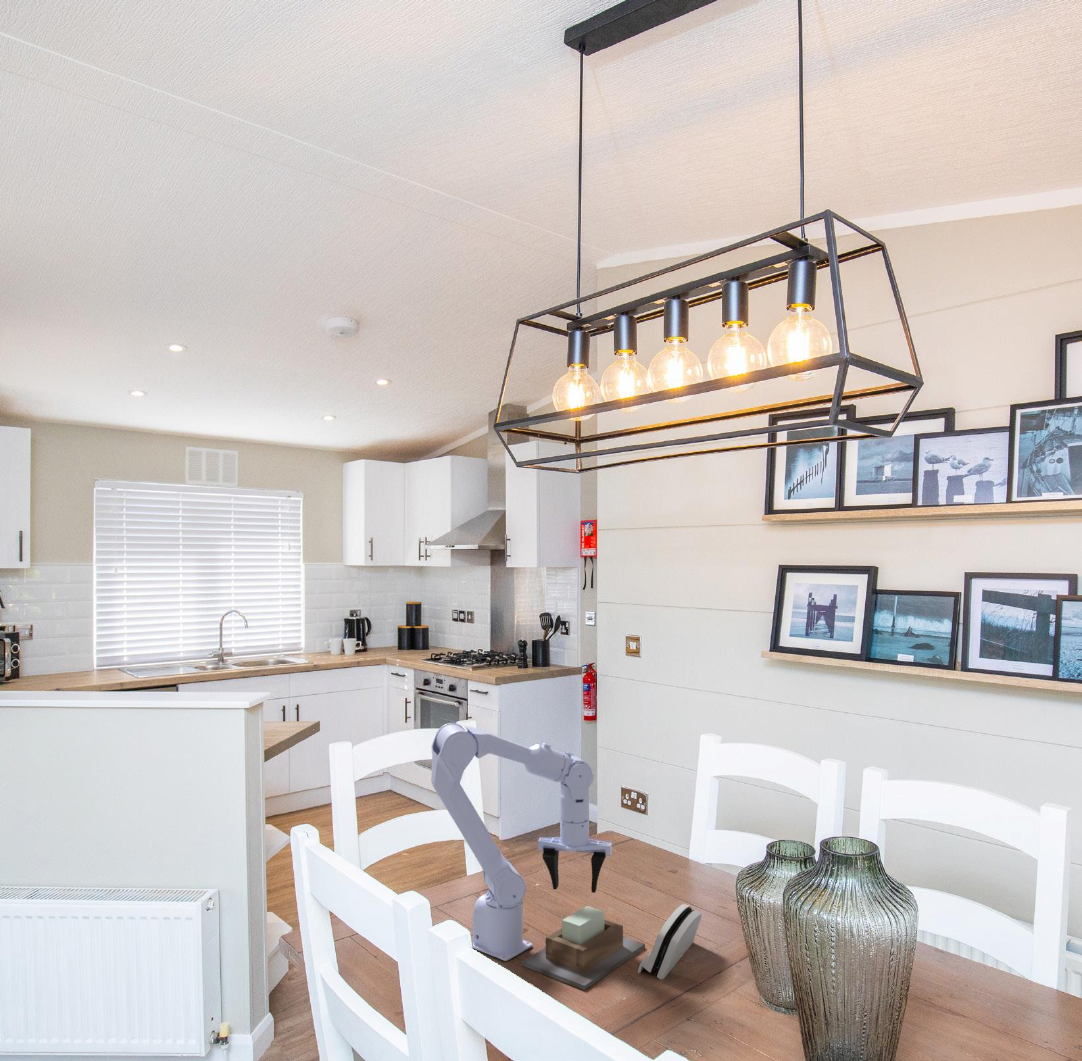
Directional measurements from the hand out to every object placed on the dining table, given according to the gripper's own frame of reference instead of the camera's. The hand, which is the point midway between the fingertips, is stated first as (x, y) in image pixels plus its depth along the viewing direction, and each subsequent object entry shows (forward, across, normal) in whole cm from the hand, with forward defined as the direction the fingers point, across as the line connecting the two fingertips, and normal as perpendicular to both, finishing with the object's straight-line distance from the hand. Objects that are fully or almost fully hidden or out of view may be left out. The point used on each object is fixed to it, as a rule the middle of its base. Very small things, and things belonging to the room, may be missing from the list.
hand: (574, 889), depth 158 cm
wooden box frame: (+9, +3, -7) cm, 12 cm away
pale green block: (+8, +3, -8) cm, 11 cm away
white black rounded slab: (+10, +19, -4) cm, 22 cm away
